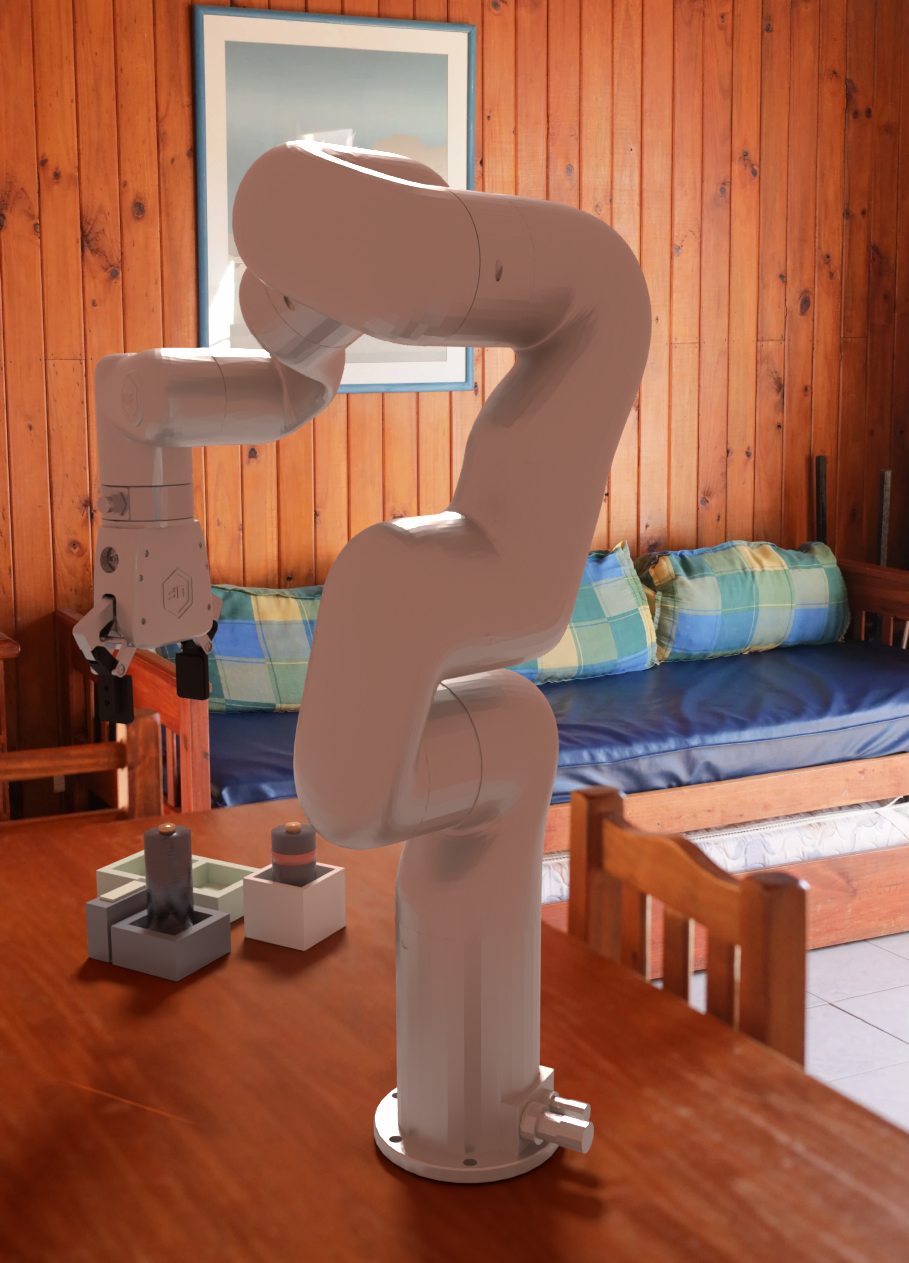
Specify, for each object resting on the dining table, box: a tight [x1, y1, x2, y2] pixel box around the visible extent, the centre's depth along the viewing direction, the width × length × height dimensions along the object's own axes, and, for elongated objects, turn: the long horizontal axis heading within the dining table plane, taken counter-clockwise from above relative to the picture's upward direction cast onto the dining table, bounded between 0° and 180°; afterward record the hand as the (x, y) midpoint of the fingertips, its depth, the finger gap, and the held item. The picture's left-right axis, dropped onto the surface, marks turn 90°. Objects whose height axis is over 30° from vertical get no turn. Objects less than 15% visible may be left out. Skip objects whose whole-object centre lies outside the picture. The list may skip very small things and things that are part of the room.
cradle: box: [85, 878, 232, 983], centre depth 118 cm, size 10×7×5 cm
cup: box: [243, 821, 347, 952], centre depth 123 cm, size 7×7×10 cm
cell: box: [143, 822, 195, 936], centre depth 117 cm, size 4×4×10 cm
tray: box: [95, 849, 261, 924], centre depth 131 cm, size 15×8×3 cm, turn 61°
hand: (156, 709), depth 114 cm, fingers open, 9 cm apart
